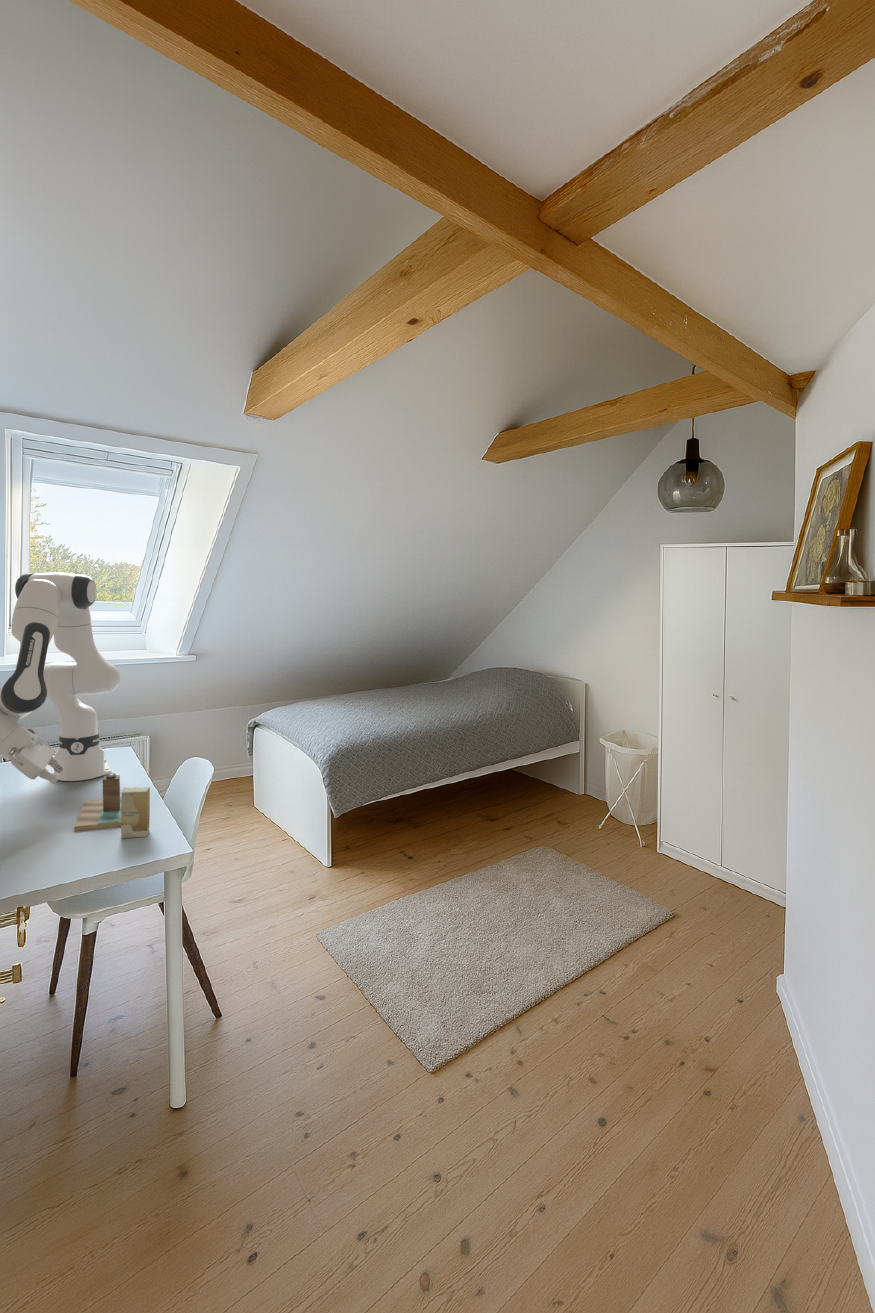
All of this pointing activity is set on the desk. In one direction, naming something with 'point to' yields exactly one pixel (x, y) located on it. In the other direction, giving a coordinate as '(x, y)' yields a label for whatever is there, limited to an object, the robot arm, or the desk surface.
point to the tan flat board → (97, 816)
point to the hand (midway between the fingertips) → (59, 775)
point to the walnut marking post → (111, 792)
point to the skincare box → (135, 812)
